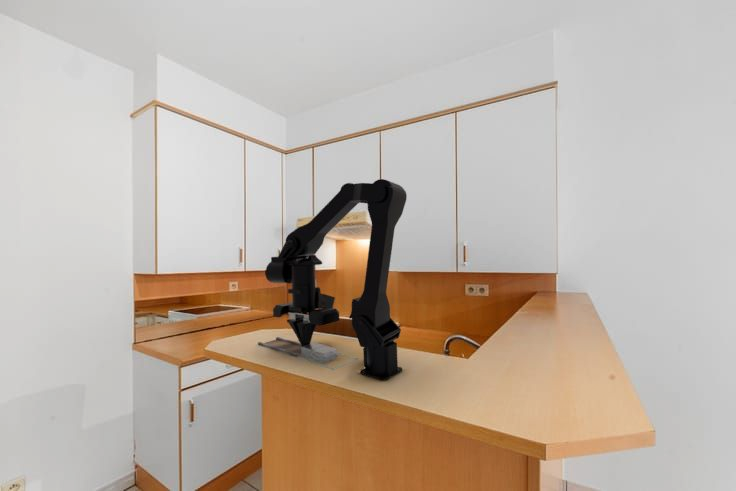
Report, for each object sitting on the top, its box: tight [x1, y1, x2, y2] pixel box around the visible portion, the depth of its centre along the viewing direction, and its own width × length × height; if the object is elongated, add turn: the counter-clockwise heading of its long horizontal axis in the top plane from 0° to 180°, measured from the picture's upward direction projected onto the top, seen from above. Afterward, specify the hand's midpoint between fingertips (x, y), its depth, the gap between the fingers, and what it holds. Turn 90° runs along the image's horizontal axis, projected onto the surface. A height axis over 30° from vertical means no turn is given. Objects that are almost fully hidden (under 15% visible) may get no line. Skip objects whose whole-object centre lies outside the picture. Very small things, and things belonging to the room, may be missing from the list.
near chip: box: [311, 345, 338, 364], centre depth 70 cm, size 4×4×3 cm
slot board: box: [257, 336, 302, 358], centre depth 80 cm, size 17×6×2 cm, turn 50°
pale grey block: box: [300, 341, 326, 361], centre depth 72 cm, size 4×4×3 cm
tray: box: [295, 352, 359, 370], centre depth 71 cm, size 13×8×1 cm, turn 50°
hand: (305, 348), depth 74 cm, fingers closed
